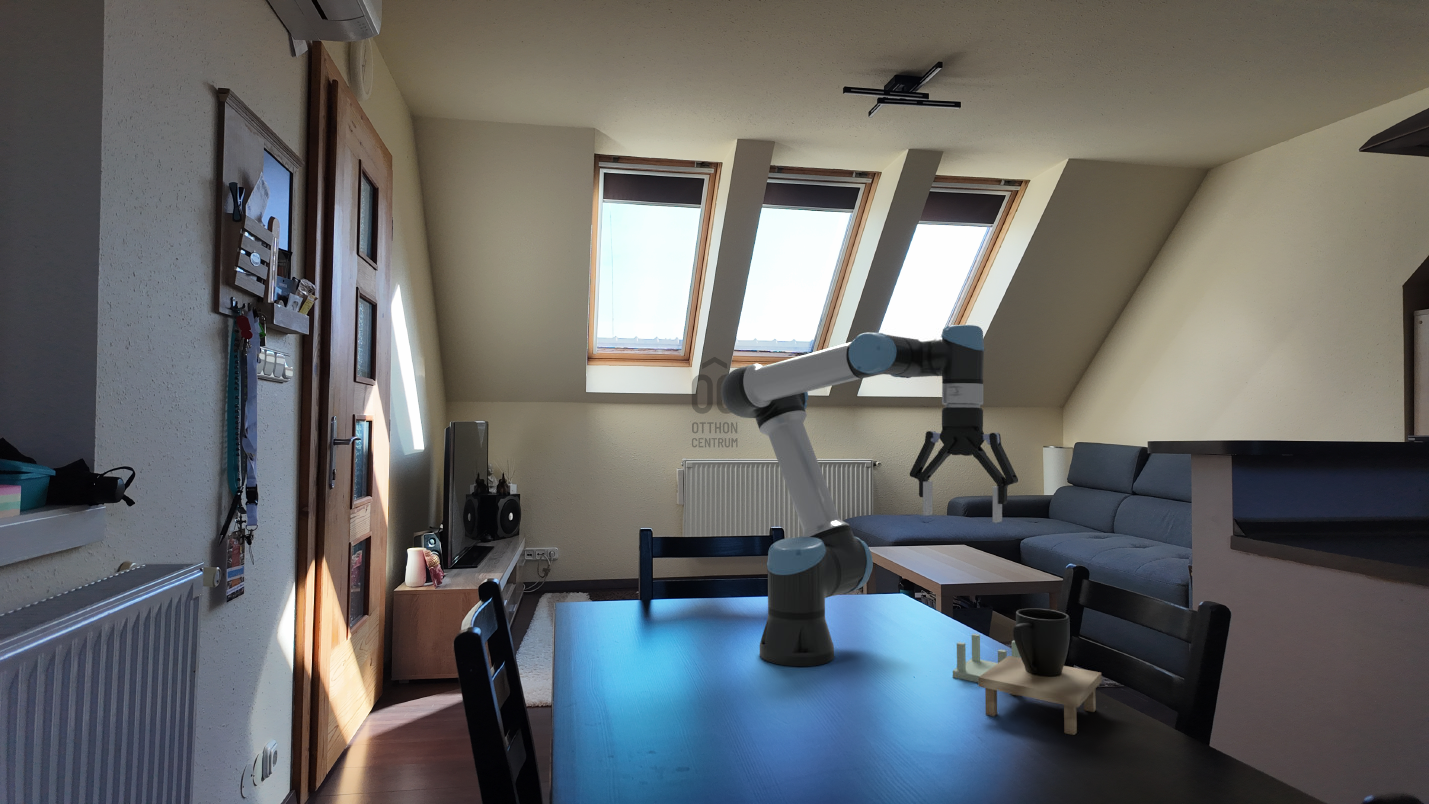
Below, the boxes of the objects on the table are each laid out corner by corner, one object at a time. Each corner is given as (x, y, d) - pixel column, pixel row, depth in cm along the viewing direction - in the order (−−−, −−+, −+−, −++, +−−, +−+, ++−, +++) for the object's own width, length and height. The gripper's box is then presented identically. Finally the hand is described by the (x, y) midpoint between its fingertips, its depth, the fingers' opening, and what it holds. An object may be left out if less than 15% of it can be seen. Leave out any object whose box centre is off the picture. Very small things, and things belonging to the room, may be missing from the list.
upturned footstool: (952, 677, 142) (952, 643, 142) (972, 664, 150) (971, 632, 150) (1007, 688, 136) (1006, 653, 136) (1024, 674, 143) (1024, 641, 144)
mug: (993, 674, 125) (992, 615, 125) (1034, 661, 132) (1033, 605, 132) (1039, 687, 118) (1038, 626, 119) (1080, 673, 125) (1079, 615, 126)
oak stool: (978, 714, 123) (978, 677, 123) (1009, 689, 135) (1008, 655, 135) (1078, 738, 114) (1077, 697, 114) (1102, 709, 125) (1101, 672, 126)
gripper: (893, 406, 150) (892, 513, 150) (1022, 406, 134) (1021, 527, 134) (910, 406, 156) (909, 510, 155) (1036, 407, 140) (1035, 522, 139)
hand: (961, 518), depth 144 cm, fingers open, 13 cm apart
